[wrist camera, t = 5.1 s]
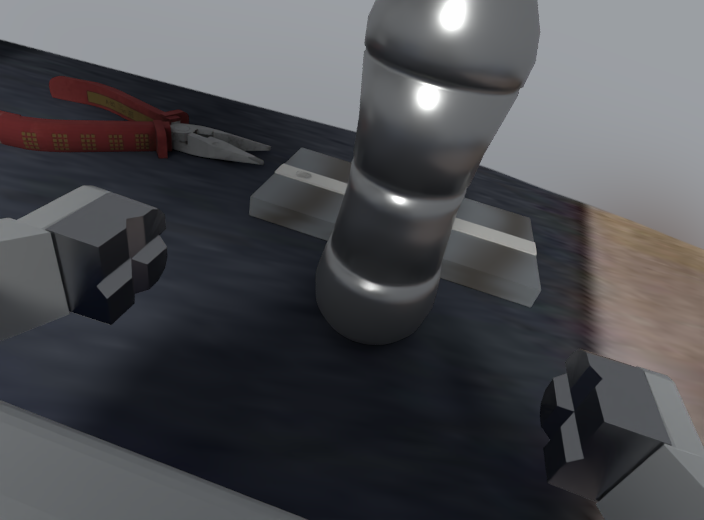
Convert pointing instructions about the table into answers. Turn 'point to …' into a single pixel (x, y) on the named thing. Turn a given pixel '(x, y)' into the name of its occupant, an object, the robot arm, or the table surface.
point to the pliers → (121, 128)
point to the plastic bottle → (418, 153)
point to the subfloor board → (464, 242)
